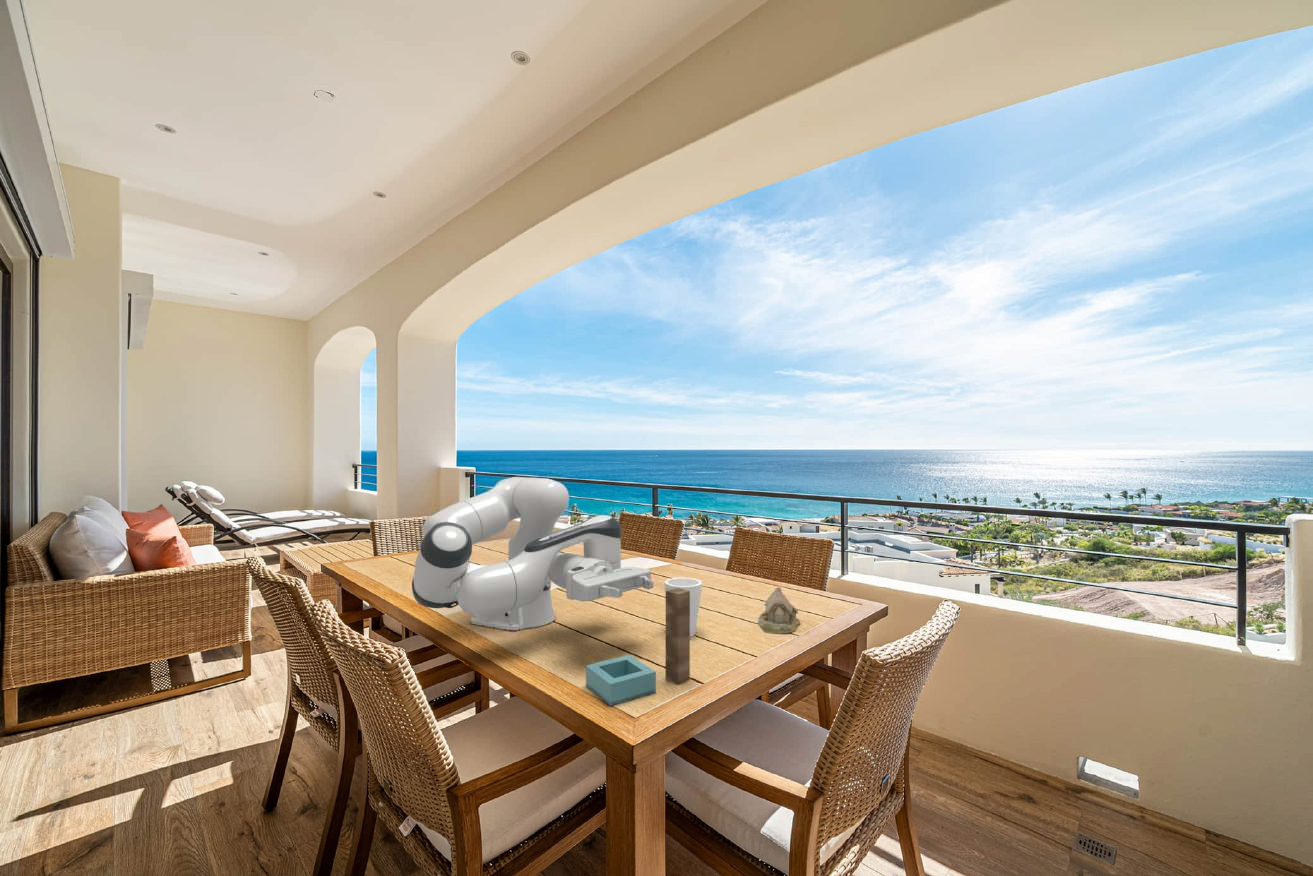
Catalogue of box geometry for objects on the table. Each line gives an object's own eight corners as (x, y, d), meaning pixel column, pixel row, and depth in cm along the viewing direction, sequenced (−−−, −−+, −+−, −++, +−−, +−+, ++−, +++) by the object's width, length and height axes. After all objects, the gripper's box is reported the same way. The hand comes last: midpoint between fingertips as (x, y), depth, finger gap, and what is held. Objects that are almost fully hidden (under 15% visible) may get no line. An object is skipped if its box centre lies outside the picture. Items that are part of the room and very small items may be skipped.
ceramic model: (758, 616, 151) (758, 580, 151) (799, 618, 149) (799, 582, 149) (757, 633, 137) (757, 594, 137) (802, 636, 135) (802, 596, 135)
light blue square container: (586, 685, 106) (586, 665, 106) (629, 674, 112) (629, 654, 112) (610, 706, 98) (610, 684, 98) (655, 692, 103) (655, 671, 103)
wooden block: (665, 679, 109) (665, 591, 109) (676, 674, 112) (676, 587, 112) (678, 685, 107) (678, 594, 107) (689, 679, 109) (689, 590, 109)
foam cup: (687, 642, 130) (687, 588, 130) (657, 634, 135) (657, 583, 135) (708, 632, 137) (708, 581, 137) (678, 624, 143) (678, 576, 143)
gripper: (628, 583, 134) (668, 594, 125) (561, 600, 120) (600, 614, 110) (628, 558, 134) (668, 567, 125) (561, 572, 120) (600, 583, 110)
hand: (636, 589), depth 117 cm, fingers open, 8 cm apart
